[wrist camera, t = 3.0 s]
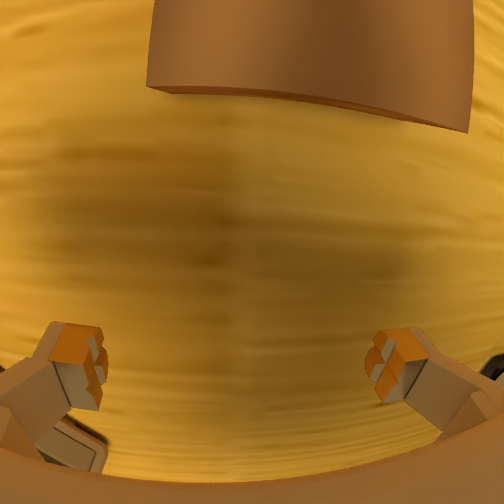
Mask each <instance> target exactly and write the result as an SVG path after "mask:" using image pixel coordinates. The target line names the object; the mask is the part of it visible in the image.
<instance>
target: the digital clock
mask: <svg viewBox="0 0 504 504" xmlns="http://www.w3.org/2000/svg"><path fill="white" fill-rule="evenodd" d="M0 373H2V371H1V370H0ZM34 446H35V447H36V449H37V450H38V451H39V453H40V454H41V455H42V457H43V458H44V460H45V461H46V462H49V463H53V464H56V465H61V466H65V467H69V468H73V469H78V470H83V471H88V472H93V473H99V474H102V471H103V468H104V465H105V462H106V459H107V456H108V448H107V446H106V445H105V444H104V443H103V442H102V441H100V440H99V439H97V438H95V437H94V436H92V435H90V434H88V433H87V432H85V431H83V430H81V429H80V428H78V427H76V426H75V423H74V422H72V421H71V420H69V419H68V418H66V417H63V418H62V419H61V420H60V421H59V422H57V423H56V424H55V425H54V426H53V427H52V428H51V429H50V430H49V431H48V432H47V433H46V434H45V435H44V436H43V437H42V438H41V439H40V440H39V441H38V442H37V443H36V444H35V445H34Z"/></svg>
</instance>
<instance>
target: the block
mask: <svg viewBox="0 0 504 504" xmlns="http://www.w3.org/2000/svg"><path fill="white" fill-rule="evenodd" d="M473 73H474V16H473V0H155V3H154V11H153V18H152V27H151V35H150V45H149V56H148V68H147V81H146V87H149V88H153V89H157V90H160V91H164V92H167V93H171V94H219V95H238V96H252V97H264V98H275V99H284V100H293V101H301V102H308V103H315V104H322V105H328V106H334V107H340V108H346V109H351V110H357V111H362V112H367V113H371V114H376V115H381V116H385V117H389V118H394V119H398V120H403V121H409V122H415V123H420V124H426V125H431V126H436V127H441V128H445V129H450V130H455V131H459V132H463V133H467V134H468V128H469V121H470V112H471V102H472V89H473Z"/></svg>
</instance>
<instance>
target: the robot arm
mask: <svg viewBox="0 0 504 504" xmlns="http://www.w3.org/2000/svg"><path fill="white" fill-rule="evenodd" d="M103 340H104V337H103V332H102V329H101V328H100V327H94V326H86V325H78V324H71V323H63V322H56V321H53V322H51V323H50V324H49V326H48V328H47V329H46V331H45V333H44V335H43V337H42V338H41V340H40V342H39V344H38V346H37V348H36V349H35V351H34V353H33V355H32V357H31V358H29V357H26V358H25V359H23V360H21V361H20V362H18V363H16V364H15V365H13V366H12V367H10V368H8V369H7V370H5V371H4V372H2V373H0V504H504V372H503V373H502V374H501V375H500V376H499V377H498V378H497V379H496V380H495V381H493V380H491V379H489V378H487V377H485V376H483V375H481V374H480V373H478V372H476V371H474V370H472V369H470V368H468V367H466V366H465V365H463V364H461V363H459V362H457V361H455V360H453V359H451V358H449V357H448V356H442V355H441V353H440V352H439V351H438V350H437V348H436V347H435V346H434V345H433V343H432V342H431V341H430V340H429V338H428V337H427V336H426V335H425V334H424V332H423V331H422V330H421V329H420V328H418V327H407V328H401V329H391V330H379V331H378V332H377V333H376V334H375V336H374V338H373V343H374V346H373V347H372V348H371V349H370V350H369V351H368V353H367V356H366V358H365V370H366V374H367V375H368V377H369V379H370V380H372V381H373V382H375V383H376V385H375V391H376V392H377V394H378V396H379V398H380V400H381V402H382V404H383V403H389V402H395V401H400V400H404V402H406V403H407V404H408V405H409V406H411V407H412V408H413V409H414V410H416V411H417V412H418V413H419V414H421V415H422V416H423V417H425V418H426V419H427V420H428V421H430V422H431V423H432V424H433V425H435V426H436V427H437V428H439V429H440V430H441V431H442V433H441V434H440V435H439V436H438V438H437V439H436V440H435V443H433V444H430V445H427V446H424V447H421V448H419V449H416V450H413V451H409V452H406V453H403V454H400V455H397V456H393V457H390V458H386V459H383V460H379V461H375V462H371V463H367V464H363V465H359V466H354V467H350V468H345V469H340V470H335V471H330V472H325V473H319V474H313V475H306V476H299V477H292V478H284V479H275V480H264V481H250V482H230V483H186V482H166V481H153V480H142V479H133V478H125V477H118V476H111V475H105V474H99V473H93V472H88V471H83V470H78V469H73V468H69V467H65V466H61V465H56V464H53V463H49V462H46V461H45V460H44V458H43V457H42V455H41V454H40V453H39V451H38V450H37V449H36V447H35V446H34V445H35V444H36V443H37V442H38V441H39V440H40V439H41V438H42V437H43V436H44V435H45V434H46V433H47V432H48V431H49V430H50V429H51V428H52V427H53V426H54V425H55V424H56V423H57V422H59V421H60V420H61V419H62V418H63V417H64V416H65V415H66V414H67V413H68V412H69V411H70V410H71V407H72V408H79V409H86V410H94V411H99V407H100V403H101V399H102V395H103V392H102V389H101V385H102V384H104V383H105V382H106V379H107V375H108V355H107V351H106V350H105V349H104V347H103V346H102V343H103Z"/></svg>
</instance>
